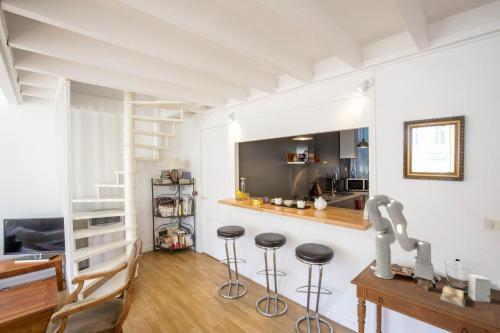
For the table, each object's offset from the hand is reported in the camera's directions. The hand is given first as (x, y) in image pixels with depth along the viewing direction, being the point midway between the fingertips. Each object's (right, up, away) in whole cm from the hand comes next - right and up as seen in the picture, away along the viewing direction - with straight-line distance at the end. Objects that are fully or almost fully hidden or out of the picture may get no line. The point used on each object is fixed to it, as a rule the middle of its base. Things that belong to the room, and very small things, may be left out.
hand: (424, 286), depth 154 cm
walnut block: (0, -3, 0) cm, 3 cm away
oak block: (+8, -2, -12) cm, 15 cm away
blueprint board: (+8, -3, -12) cm, 15 cm away
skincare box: (+24, -3, -12) cm, 27 cm away
